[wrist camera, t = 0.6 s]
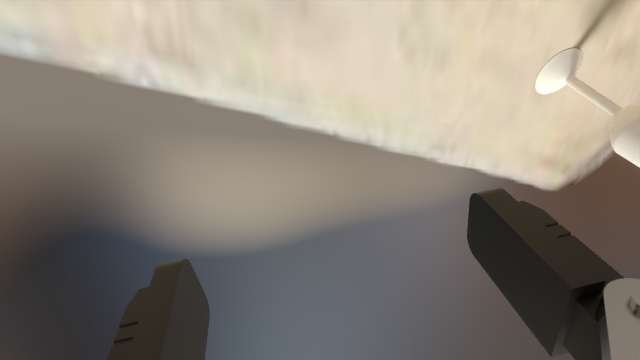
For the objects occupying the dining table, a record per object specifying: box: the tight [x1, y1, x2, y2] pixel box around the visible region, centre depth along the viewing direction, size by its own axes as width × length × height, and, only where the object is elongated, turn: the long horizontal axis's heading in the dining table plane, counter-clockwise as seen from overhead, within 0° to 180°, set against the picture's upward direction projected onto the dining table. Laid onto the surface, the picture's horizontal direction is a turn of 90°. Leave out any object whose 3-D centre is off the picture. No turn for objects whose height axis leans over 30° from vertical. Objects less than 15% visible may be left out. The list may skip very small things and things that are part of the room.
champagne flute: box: [535, 48, 640, 167], centre depth 41 cm, size 7×7×24 cm
